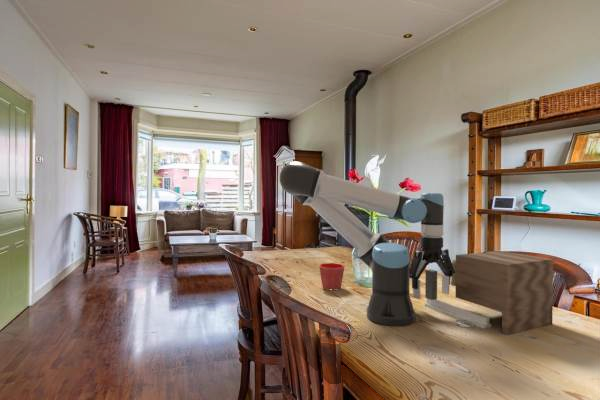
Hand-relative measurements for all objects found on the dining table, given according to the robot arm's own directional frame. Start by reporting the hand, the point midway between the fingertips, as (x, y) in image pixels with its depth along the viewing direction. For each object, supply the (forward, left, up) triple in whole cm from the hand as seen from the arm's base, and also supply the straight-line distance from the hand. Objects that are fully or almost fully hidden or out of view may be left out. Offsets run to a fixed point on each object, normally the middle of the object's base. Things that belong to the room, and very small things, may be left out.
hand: (431, 295), depth 127 cm
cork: (+34, +18, -4) cm, 39 cm away
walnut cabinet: (+11, -20, -4) cm, 22 cm away
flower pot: (-20, +36, -4) cm, 42 cm away
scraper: (0, -10, -4) cm, 11 cm away
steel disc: (-4, -18, -4) cm, 19 cm away
